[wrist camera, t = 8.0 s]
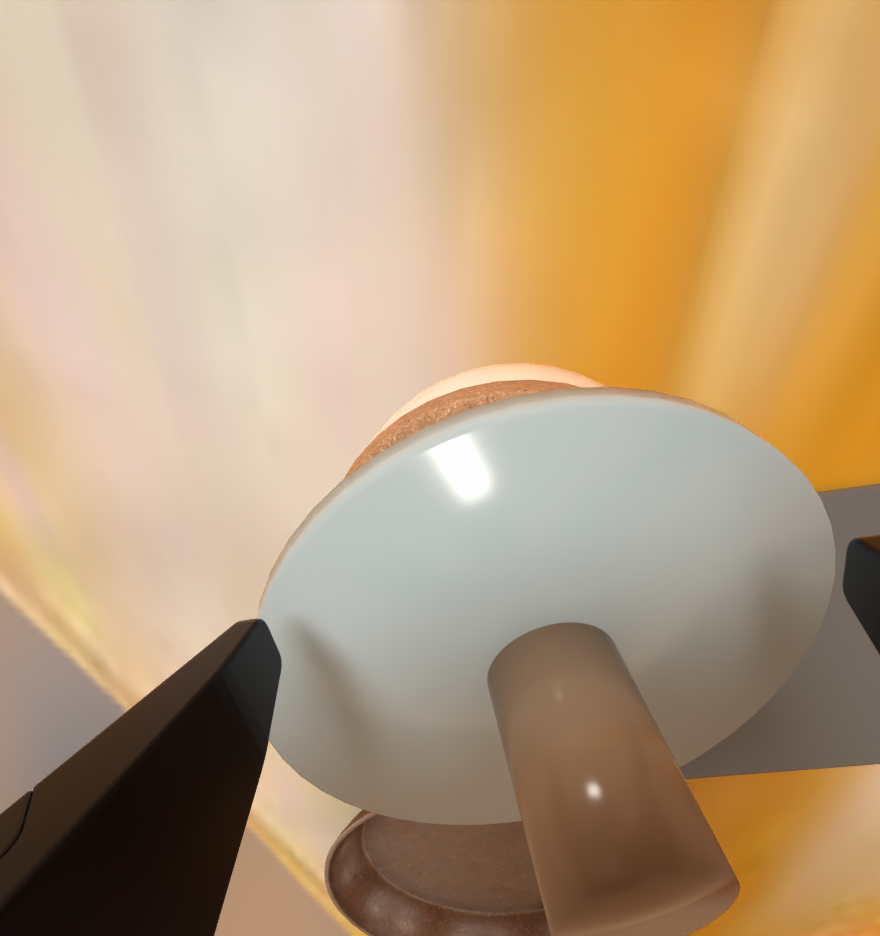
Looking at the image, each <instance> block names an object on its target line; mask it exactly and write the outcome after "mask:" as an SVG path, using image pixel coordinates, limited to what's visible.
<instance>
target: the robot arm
mask: <svg viewBox="0 0 880 936" xmlns="http://www.w3.org/2000/svg"><path fill="white" fill-rule="evenodd" d="M842 586H843V592H844V595H845V598H846V600H847V602H848V604H849V605H850V607H851V609H852V610H853V612H854V614H855V615H856V617H857V619H858V620H859V622H860V624H861V625H862V627H863V629H864V630H865V632H866V633H867V635H868V637H869V638H870V640H871V642H872V643H873V645H874V647H875V648H876V650H877V652H878V653H879V655H880V535H873V536H865V537H858V538H854V539H852V540H851V541H850V542H849V544H848V546H847V551H846V558H845V566H844V574H843V582H842ZM281 669H282V661H281V655H280V652H279V650H278V648H277V646H276V643H275V641H274V639H273V636H272V634H271V632H270V630H269V627H268V625H267V623H266V622H265V621H264V620H262V619H259V618H258V619H250V620H243V621H239V622H237V623H235V624H234V625H233V626H231V627H230V628H229V629H228V630H227V631H225V632H224V633H223V634H222V635H220V636H219V637H218V638H217V639H216V640H214V641H213V642H212V643H211V644H209V645H208V646H207V647H206V648H204V649H203V650H202V651H201V652H200V653H198V654H197V655H196V656H195V657H193V658H192V659H191V660H190V661H188V662H187V663H186V664H185V665H184V666H182V667H181V668H180V669H179V670H177V671H176V672H175V673H174V674H172V675H171V676H170V677H169V678H168V679H166V680H165V681H164V682H163V683H161V684H160V685H159V686H158V687H156V688H155V689H154V690H153V691H152V692H150V693H149V694H148V695H147V696H145V697H144V698H143V699H142V700H140V701H139V702H138V703H137V704H136V705H134V706H133V707H132V708H131V709H129V710H128V711H127V712H126V713H124V714H123V715H122V716H121V717H120V718H118V719H117V720H116V721H115V722H113V723H112V724H111V725H110V726H109V727H107V728H106V729H105V730H104V731H102V732H101V733H100V734H99V735H97V736H96V737H95V738H94V739H93V740H91V741H90V742H89V743H88V744H86V745H85V746H84V747H83V748H81V749H80V750H79V751H78V752H76V753H75V754H74V755H73V756H72V757H70V758H69V759H68V760H67V761H65V762H64V763H63V764H62V765H60V766H59V767H58V768H57V769H56V770H54V771H53V772H52V773H51V774H49V775H48V776H47V777H46V778H45V779H43V780H42V781H41V782H40V783H38V784H37V785H36V786H35V787H34V790H33V791H29V792H27V793H26V794H25V795H23V796H22V797H21V798H20V799H18V800H17V801H16V802H15V803H14V804H12V805H11V806H10V807H9V808H8V809H6V810H5V811H4V812H3V813H2V814H0V936H214V934H215V930H216V927H217V923H218V920H219V916H220V913H221V909H222V906H223V903H224V899H225V896H226V892H227V889H228V885H229V882H230V878H231V875H232V871H233V868H234V865H235V861H236V858H237V854H238V851H239V847H240V844H241V840H242V837H243V833H244V830H245V827H246V823H247V820H248V816H249V813H250V809H251V806H252V802H253V799H254V796H255V792H256V789H257V785H258V782H259V778H260V775H261V771H262V767H263V764H264V760H265V756H266V751H267V746H268V741H269V736H270V730H271V725H272V719H273V713H274V708H275V702H276V697H277V691H278V686H279V680H280V675H281Z"/></svg>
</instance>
